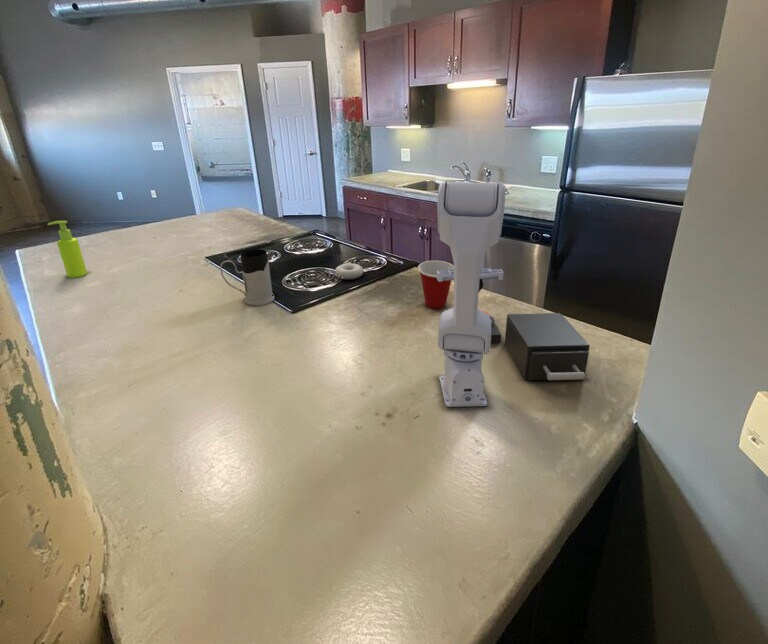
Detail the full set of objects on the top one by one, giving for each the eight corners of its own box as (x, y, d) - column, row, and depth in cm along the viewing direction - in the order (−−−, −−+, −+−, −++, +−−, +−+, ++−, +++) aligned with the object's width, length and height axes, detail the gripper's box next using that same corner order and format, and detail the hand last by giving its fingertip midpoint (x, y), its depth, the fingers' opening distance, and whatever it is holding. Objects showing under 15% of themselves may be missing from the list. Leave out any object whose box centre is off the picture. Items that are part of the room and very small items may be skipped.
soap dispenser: (66, 273, 152) (49, 220, 145) (88, 270, 155) (73, 218, 148) (62, 279, 147) (45, 224, 140) (85, 276, 150) (69, 221, 143)
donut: (341, 270, 151) (330, 279, 142) (341, 261, 150) (329, 270, 141) (367, 272, 148) (357, 282, 139) (367, 263, 147) (357, 272, 138)
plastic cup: (425, 315, 116) (425, 275, 111) (412, 299, 126) (412, 262, 121) (460, 310, 118) (462, 271, 114) (445, 295, 128) (447, 258, 124)
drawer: (594, 390, 82) (599, 363, 80) (536, 392, 82) (540, 365, 80) (557, 344, 98) (561, 320, 96) (509, 345, 98) (512, 322, 96)
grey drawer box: (583, 378, 87) (590, 345, 84) (524, 380, 87) (528, 346, 84) (556, 342, 101) (560, 312, 98) (504, 344, 101) (507, 314, 98)
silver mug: (276, 302, 126) (270, 255, 120) (226, 310, 121) (218, 262, 116) (272, 291, 133) (266, 247, 128) (225, 299, 129) (217, 253, 123)
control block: (500, 342, 102) (502, 328, 100) (468, 343, 101) (468, 328, 100) (490, 323, 111) (491, 309, 109) (460, 323, 111) (461, 310, 109)
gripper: (499, 246, 95) (494, 300, 100) (435, 247, 95) (434, 301, 100) (508, 256, 88) (502, 313, 93) (440, 257, 88) (438, 315, 93)
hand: (467, 308), depth 96 cm, fingers closed
